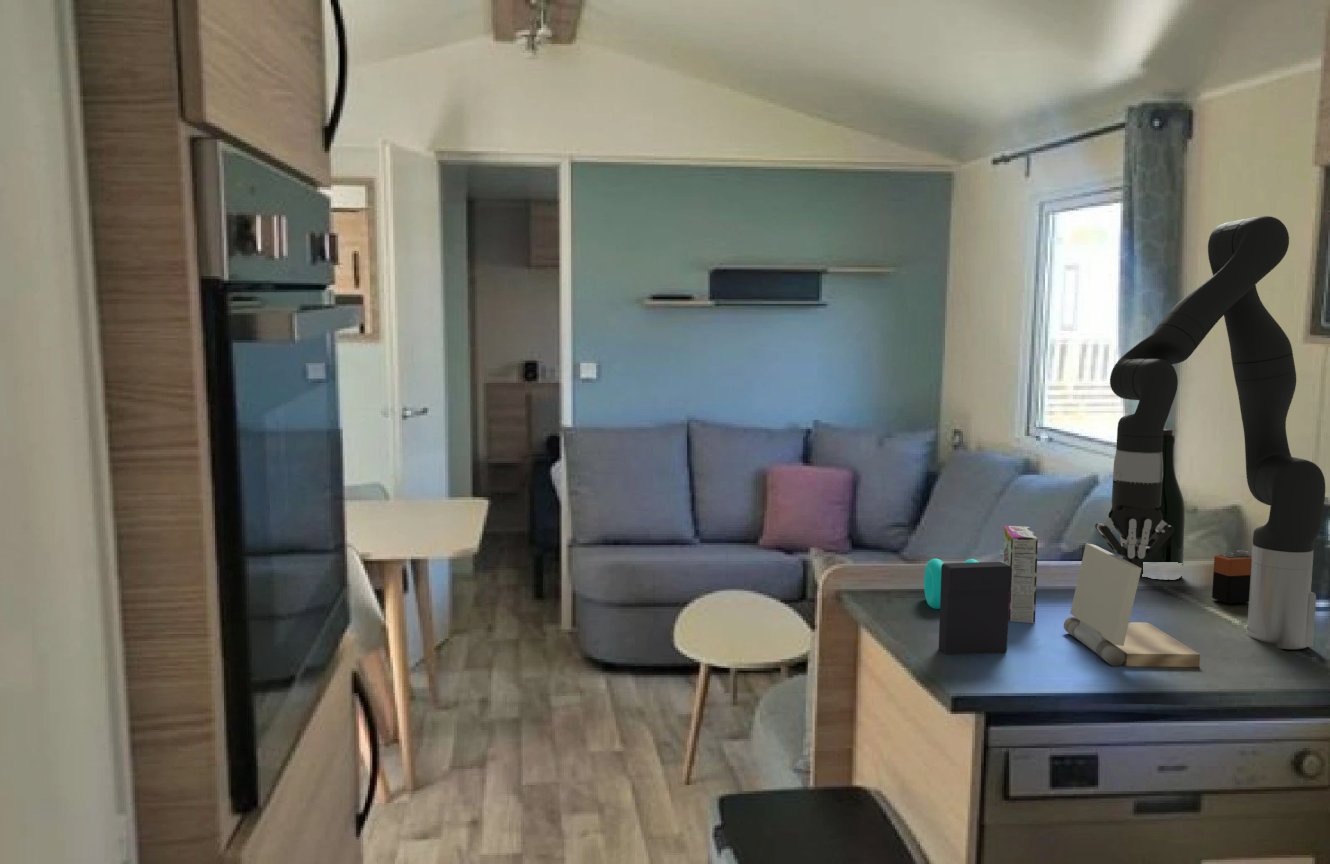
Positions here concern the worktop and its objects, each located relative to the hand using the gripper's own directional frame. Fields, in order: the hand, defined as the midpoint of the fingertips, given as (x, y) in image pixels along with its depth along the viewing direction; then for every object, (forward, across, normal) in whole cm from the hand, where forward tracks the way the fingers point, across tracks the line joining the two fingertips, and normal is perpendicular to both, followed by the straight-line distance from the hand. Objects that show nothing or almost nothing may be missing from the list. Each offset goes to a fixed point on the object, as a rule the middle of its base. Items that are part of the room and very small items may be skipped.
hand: (1131, 578), depth 170 cm
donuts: (+13, +23, -24) cm, 36 cm away
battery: (+12, -36, -33) cm, 50 cm away
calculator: (+13, +27, +2) cm, 30 cm away
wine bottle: (+12, -30, -53) cm, 62 cm away
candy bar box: (+12, +12, -20) cm, 26 cm away
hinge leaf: (+11, +6, 0) cm, 12 cm away
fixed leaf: (+12, -1, 0) cm, 12 cm away
